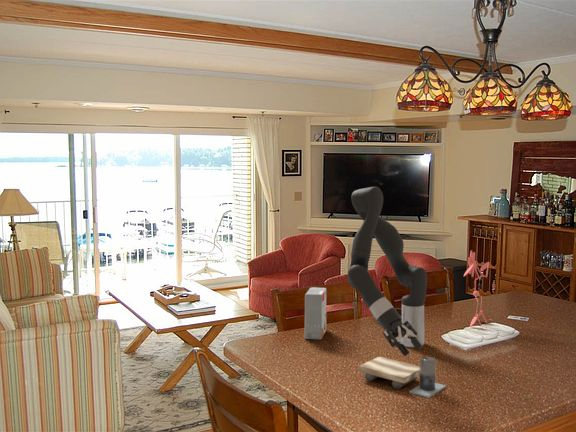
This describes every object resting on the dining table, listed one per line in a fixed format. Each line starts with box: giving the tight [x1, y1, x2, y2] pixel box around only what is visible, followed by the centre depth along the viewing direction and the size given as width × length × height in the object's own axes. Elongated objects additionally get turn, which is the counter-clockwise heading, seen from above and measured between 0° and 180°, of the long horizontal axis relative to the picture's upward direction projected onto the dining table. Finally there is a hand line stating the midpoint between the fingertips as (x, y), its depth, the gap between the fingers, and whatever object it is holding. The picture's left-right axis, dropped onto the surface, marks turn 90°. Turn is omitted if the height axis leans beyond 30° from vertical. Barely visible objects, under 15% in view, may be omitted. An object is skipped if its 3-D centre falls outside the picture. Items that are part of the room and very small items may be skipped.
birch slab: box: [358, 356, 420, 390], centre depth 205 cm, size 13×18×5 cm
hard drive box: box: [304, 286, 327, 341], centre depth 260 cm, size 16×8×20 cm, turn 168°
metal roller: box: [419, 356, 437, 391], centre depth 196 cm, size 5×5×10 cm
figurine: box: [455, 250, 492, 329], centre depth 274 cm, size 15×26×35 cm, turn 148°
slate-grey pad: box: [409, 382, 447, 399], centre depth 197 cm, size 12×7×1 cm, turn 138°
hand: (413, 351), depth 199 cm, fingers open, 8 cm apart
